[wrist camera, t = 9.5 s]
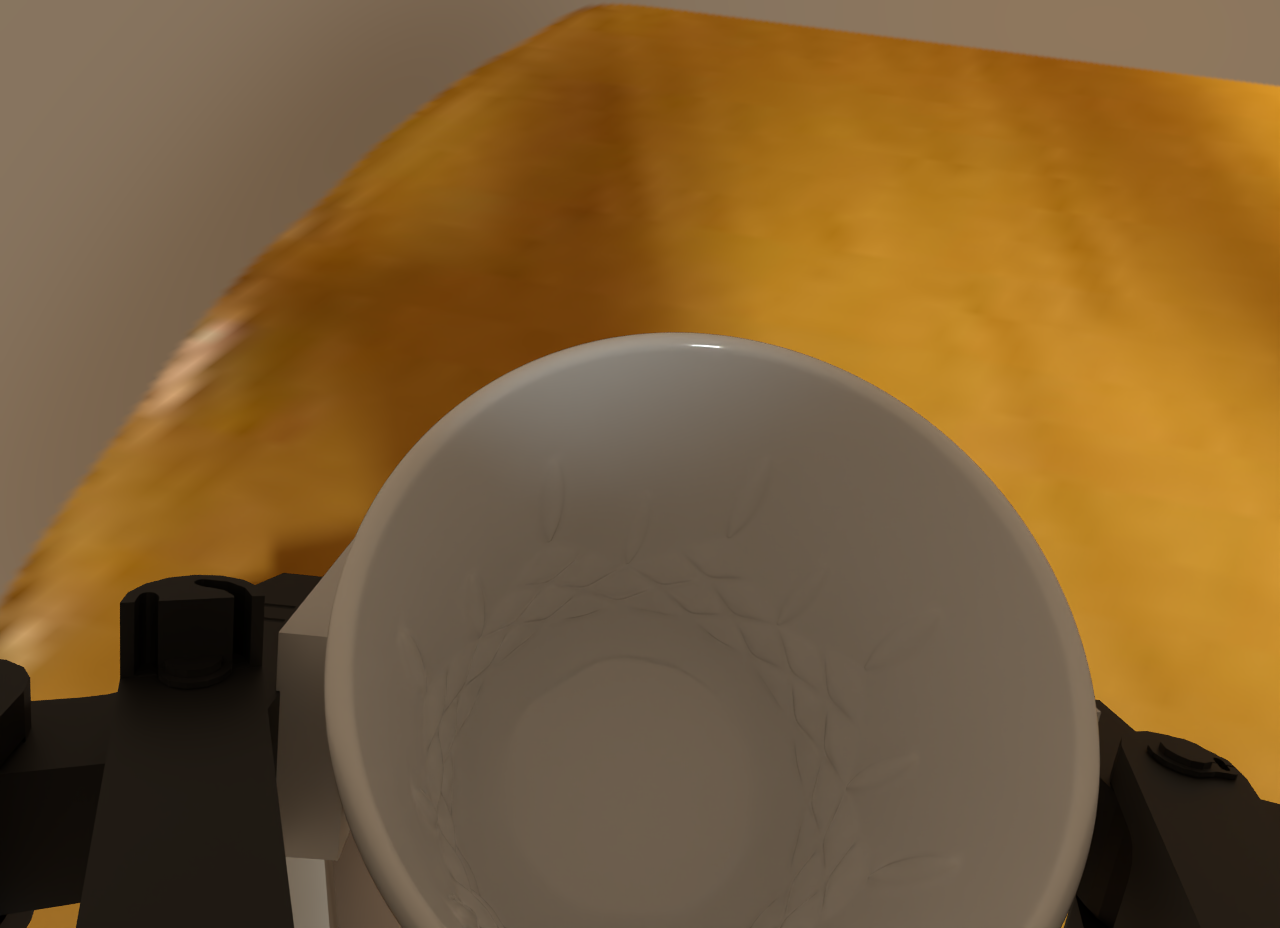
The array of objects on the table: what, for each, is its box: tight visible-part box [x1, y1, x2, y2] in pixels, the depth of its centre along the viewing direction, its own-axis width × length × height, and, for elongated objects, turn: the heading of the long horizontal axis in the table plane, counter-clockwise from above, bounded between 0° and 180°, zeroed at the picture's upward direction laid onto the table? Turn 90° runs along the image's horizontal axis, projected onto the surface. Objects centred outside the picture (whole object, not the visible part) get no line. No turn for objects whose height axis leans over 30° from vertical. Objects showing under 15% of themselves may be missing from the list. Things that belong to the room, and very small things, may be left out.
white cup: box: [324, 332, 1100, 928], centre depth 13 cm, size 8×8×10 cm
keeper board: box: [286, 831, 402, 928], centre depth 22 cm, size 20×16×2 cm
